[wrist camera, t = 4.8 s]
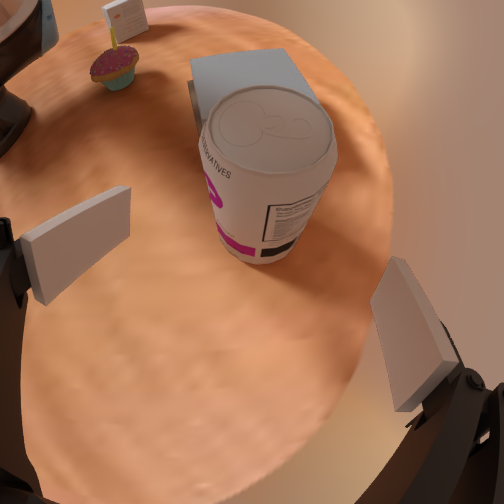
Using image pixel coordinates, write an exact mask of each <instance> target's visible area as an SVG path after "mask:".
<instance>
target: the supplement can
mask: <svg viewBox="0 0 504 504" xmlns="http://www.w3.org/2000/svg"><path fill="white" fill-rule="evenodd" d="M198 146H199V151H200V155H201V160H202V164H203V169H204V173H205V177H206V182H207V186H208V190H209V195H210V199H211V203H212V207H213V211H214V215H215V220H216V224H217V228H218V232H219V236H220V240H221V242H222V243H223V245H224V246H225V247H226V249H227V250H228V252H229V253H231V254H232V255H234V256H235V257H236V258H238V259H239V260H241V261H244V262H248V263H252V264H255V265H257V264H269V263H273V262H275V261H277V260H279V259H282V258H284V257H285V256H286V255H287V254H288V253H289V252H290V251H291V250H292V249H293V248H294V247H295V245H296V243H297V241H298V239H299V238H300V236H301V234H302V232H303V230H304V228H305V226H306V224H307V223H308V221H309V219H310V217H311V215H312V213H313V211H314V209H315V207H316V205H317V203H318V202H319V200H320V198H321V196H322V194H323V192H324V190H325V188H326V186H327V184H328V182H329V180H330V178H331V176H332V174H333V171H334V168H335V166H336V163H337V160H338V150H337V142H336V138H335V134H334V126H333V122H332V120H331V119H330V117H329V115H328V114H327V112H326V110H325V109H324V108H323V107H322V106H321V105H319V104H318V103H317V102H316V101H315V100H314V99H312V98H311V97H309V96H307V95H305V94H303V93H301V92H299V91H297V90H295V89H291V88H287V87H282V86H277V85H253V86H248V87H245V88H241V89H237V90H235V91H233V92H231V93H229V94H228V95H226V96H224V97H222V98H221V99H220V100H219V101H218V102H217V103H216V105H215V106H214V107H213V108H212V109H211V110H210V113H209V117H208V119H207V121H206V123H205V124H204V126H203V128H202V132H201V135H200V139H199V143H198Z"/></svg>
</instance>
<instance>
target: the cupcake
mask: <svg viewBox="0 0 504 504" xmlns="http://www.w3.org/2000/svg"><path fill="white" fill-rule="evenodd" d="M110 34H111V40H112V45H113V49H110V50H109V49H108V50H106V51H105V52H104V53H103V54H101V56H99V57H98V58H97V59H96V61H94V63H93V65H92V66H91V69H90V75H91V79H92V81H93V82H96V83H97V82H101V83H103V84H104V85H105V86H106V87H107V88H108V89H110V90H112V91H117V90H120V89H123V88H125V87H127V86H128V85H129V84H130V83H131V82H132V81H133V80H134V69H135V65H136V63H137V62H138V60H139V55H138V52H137V50H135V49H134V48H132V47H130V46H118V47H117V44H116V38H115V32H114V27H112V23H111V27H110Z"/></svg>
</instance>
